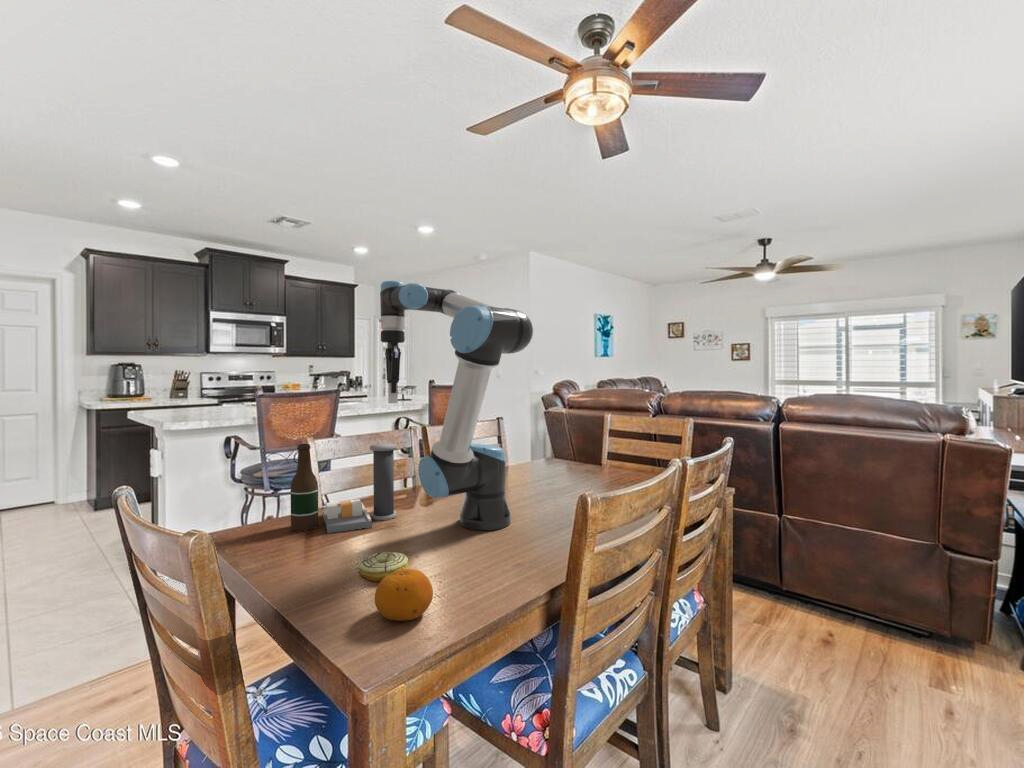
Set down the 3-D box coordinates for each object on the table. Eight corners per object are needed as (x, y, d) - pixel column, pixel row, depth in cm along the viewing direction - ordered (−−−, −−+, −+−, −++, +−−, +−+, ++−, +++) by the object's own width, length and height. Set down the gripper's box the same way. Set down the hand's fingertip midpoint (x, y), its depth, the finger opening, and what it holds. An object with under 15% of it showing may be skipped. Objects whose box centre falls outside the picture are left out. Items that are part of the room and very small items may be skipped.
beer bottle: (285, 527, 138) (284, 444, 137) (311, 521, 144) (311, 441, 143) (296, 534, 133) (295, 447, 132) (324, 527, 139) (323, 444, 138)
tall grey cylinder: (399, 518, 147) (399, 446, 146) (372, 522, 144) (372, 448, 143) (394, 511, 154) (393, 442, 153) (368, 514, 151) (368, 444, 150)
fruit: (393, 597, 97) (393, 558, 97) (441, 605, 94) (441, 565, 94) (363, 624, 87) (362, 580, 87) (415, 634, 84) (415, 589, 84)
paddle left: (337, 518, 141) (337, 506, 141) (327, 519, 140) (327, 507, 140) (336, 513, 145) (336, 501, 145) (326, 514, 144) (326, 502, 144)
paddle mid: (352, 516, 143) (352, 504, 142) (342, 517, 141) (342, 505, 141) (350, 511, 147) (350, 500, 147) (340, 512, 146) (340, 501, 146)
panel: (371, 527, 139) (371, 518, 139) (327, 533, 134) (327, 524, 133) (362, 510, 155) (362, 502, 155) (322, 515, 150) (322, 506, 150)
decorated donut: (380, 561, 116) (380, 545, 116) (417, 569, 111) (417, 553, 111) (348, 578, 106) (348, 561, 106) (387, 587, 102) (387, 570, 102)
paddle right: (362, 515, 144) (362, 503, 144) (352, 516, 143) (352, 504, 142) (359, 510, 148) (359, 499, 148) (350, 511, 147) (350, 500, 147)
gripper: (377, 331, 160) (377, 401, 161) (384, 328, 148) (384, 405, 149) (399, 331, 163) (400, 401, 164) (408, 329, 152) (409, 404, 152)
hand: (392, 403), depth 157 cm, fingers closed
